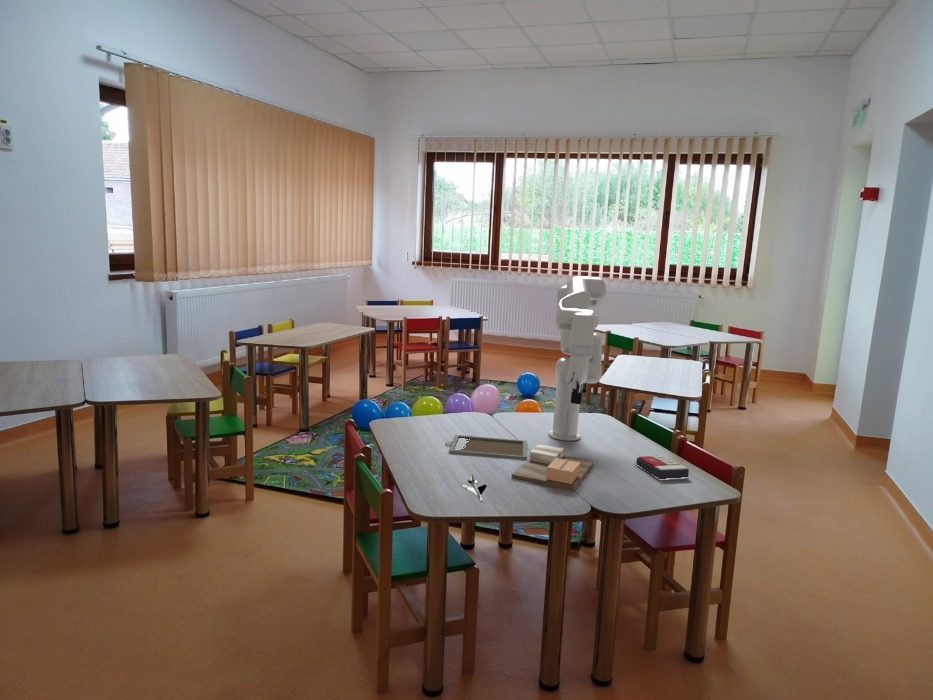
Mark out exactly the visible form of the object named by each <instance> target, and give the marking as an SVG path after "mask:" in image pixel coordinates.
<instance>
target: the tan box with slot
mask: <svg viewBox="0 0 933 700" xmlns="http://www.w3.org/2000/svg"><path fill="white" fill-rule="evenodd" d="M579 472H580V462H575V461H570V460H564V459H559V458H556V459H555V460H554V461H553V462H552V463H551V464H550V465H549V466H548V467H547V475H546V479H547V480H552V481H557V482H562V483H567V484H572V483H573V482H574V480H575V479H576V478H577V477H578V475H579Z"/></svg>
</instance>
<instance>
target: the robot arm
mask: <svg viewBox="0 0 933 700" xmlns="http://www.w3.org/2000/svg"><path fill="white" fill-rule="evenodd" d="M606 292H607V286H606V283H605V281H604V279H603V278H601V277H596V276H595V277H593V276H580V275H579V276H573V277H571V278H570V279H569V280H568V281H567V283H566V285H563V286H560V287H559V288H558V289H557V293H556V307H555V324H556V327H557V328H558V329H559V330H560V351H561V352H562V354H565V355H568V356H569V357H567V356H566V357H560V358H558V360H557V361H556V363H555V382H556V383H555V399H554V400H555V401H554V411H553V421H552V422H553V424H552V429H550V430H549V431H548V436H549V437H550V438H553V439H556V440H559V441H566V442H567V441H572V442H573V441H579V440H580V439H581V437H582V435H581V433H579V432H578V426H579V425H578V424H579V415H580V404H582V398H583V388H584V387H583V386H584V384H597V383H599V382H600V380H601V377H602V361H603V360H602V358H603V355H602V353H603V341H602V337H601V335H600V334H599V333H597V332H595V329H596V328H598V324H599V315H598V314H597V312H596V311H595V310H593V309H599V308H600V307H601V305H602V303H603V301H604V299H605V297H606Z"/></svg>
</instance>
